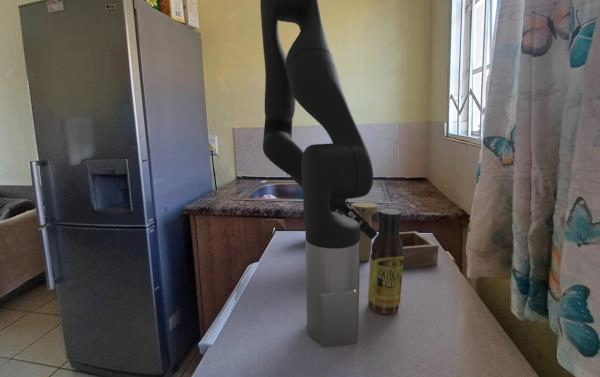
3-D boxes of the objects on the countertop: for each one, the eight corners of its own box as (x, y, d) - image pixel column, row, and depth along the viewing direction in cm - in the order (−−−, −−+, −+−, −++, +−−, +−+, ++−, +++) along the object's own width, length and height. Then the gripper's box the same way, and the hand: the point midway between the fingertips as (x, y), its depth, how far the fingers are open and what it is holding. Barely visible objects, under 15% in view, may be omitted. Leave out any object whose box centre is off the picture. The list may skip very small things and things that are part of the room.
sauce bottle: (375, 318, 65) (378, 217, 61) (362, 301, 71) (365, 208, 67) (407, 313, 66) (412, 214, 62) (392, 297, 72) (396, 206, 68)
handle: (374, 264, 88) (376, 208, 85) (349, 261, 90) (350, 206, 87) (377, 257, 93) (378, 203, 89) (353, 254, 95) (354, 201, 92)
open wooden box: (437, 264, 88) (438, 245, 87) (395, 268, 86) (395, 249, 85) (415, 247, 99) (416, 231, 98) (377, 250, 97) (378, 234, 96)
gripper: (344, 185, 79) (389, 229, 83) (328, 174, 93) (368, 213, 97) (321, 208, 79) (368, 251, 83) (309, 195, 93) (350, 232, 97)
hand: (368, 230), depth 90 cm, fingers open, 8 cm apart
